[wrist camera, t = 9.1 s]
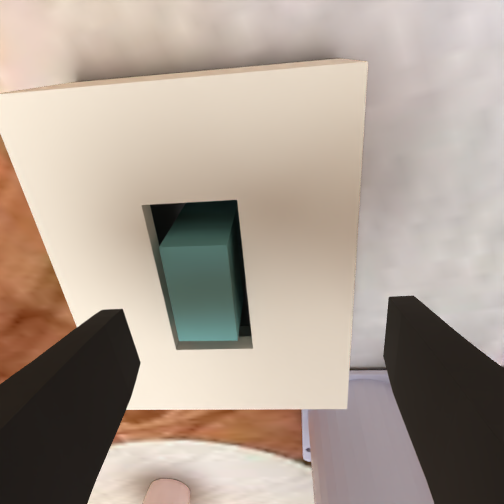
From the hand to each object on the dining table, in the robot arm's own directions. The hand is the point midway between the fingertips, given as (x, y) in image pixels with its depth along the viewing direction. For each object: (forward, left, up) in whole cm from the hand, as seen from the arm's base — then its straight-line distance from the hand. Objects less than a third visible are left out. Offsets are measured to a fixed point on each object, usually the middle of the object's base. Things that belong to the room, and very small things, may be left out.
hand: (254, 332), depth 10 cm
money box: (-1, +2, -10) cm, 11 cm away
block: (-2, +2, -10) cm, 10 cm away
